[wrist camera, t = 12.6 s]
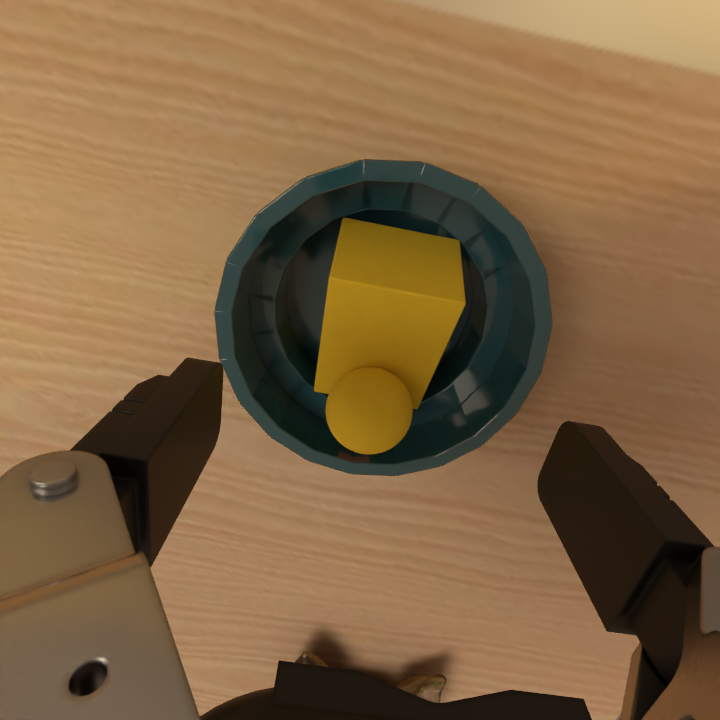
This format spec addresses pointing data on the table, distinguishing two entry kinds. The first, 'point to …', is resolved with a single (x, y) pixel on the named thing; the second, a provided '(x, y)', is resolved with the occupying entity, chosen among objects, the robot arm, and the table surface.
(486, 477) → the table surface
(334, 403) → the duck
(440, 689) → the ceramic sculpture
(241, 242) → the bowl
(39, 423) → the table surface
